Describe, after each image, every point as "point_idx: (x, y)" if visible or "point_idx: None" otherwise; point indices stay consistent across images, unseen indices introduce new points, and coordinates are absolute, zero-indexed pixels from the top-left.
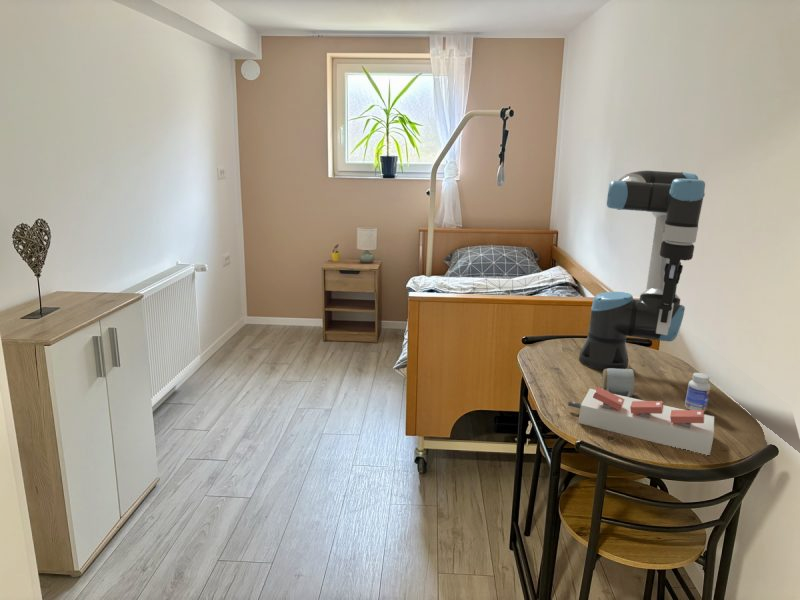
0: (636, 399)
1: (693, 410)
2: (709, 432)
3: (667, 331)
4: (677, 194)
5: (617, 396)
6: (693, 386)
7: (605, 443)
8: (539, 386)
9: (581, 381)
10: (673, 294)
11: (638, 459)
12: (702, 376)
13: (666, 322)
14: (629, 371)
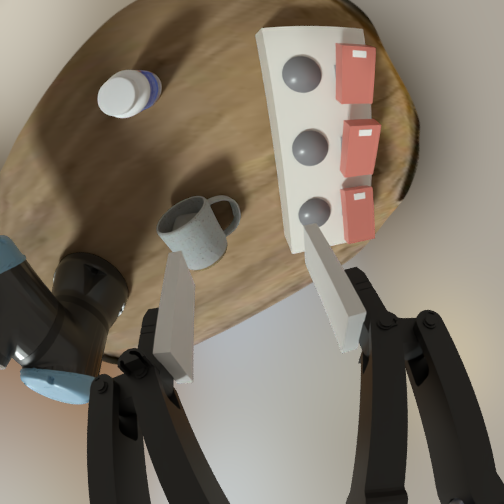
0: (287, 175)
1: (344, 64)
2: (350, 34)
3: (322, 234)
4: None
5: (347, 205)
6: (147, 99)
7: (392, 173)
8: (264, 303)
9: (193, 277)
10: (472, 389)
11: (411, 126)
12: (121, 90)
13: (358, 269)
14: (187, 234)
